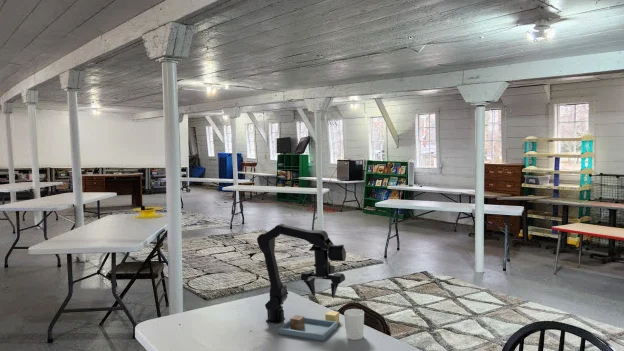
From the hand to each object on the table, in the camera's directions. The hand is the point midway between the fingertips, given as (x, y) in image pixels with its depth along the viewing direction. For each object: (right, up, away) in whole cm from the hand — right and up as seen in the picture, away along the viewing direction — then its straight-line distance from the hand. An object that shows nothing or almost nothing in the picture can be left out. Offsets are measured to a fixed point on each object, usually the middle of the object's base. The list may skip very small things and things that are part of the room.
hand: (323, 296), depth 199 cm
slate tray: (-7, -13, -5) cm, 15 cm away
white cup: (+12, -13, -12) cm, 22 cm away
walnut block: (-11, -12, -3) cm, 17 cm away
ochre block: (+4, -12, +3) cm, 13 cm away
